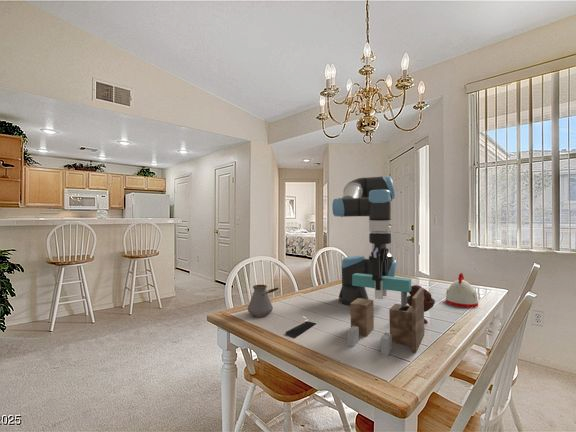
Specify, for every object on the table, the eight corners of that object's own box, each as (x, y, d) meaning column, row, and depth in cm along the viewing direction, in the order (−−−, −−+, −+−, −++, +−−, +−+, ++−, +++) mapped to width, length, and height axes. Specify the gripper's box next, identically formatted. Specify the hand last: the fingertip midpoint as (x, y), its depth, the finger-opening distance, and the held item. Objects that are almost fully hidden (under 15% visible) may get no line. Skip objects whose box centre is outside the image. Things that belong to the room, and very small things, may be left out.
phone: (323, 325, 115) (301, 337, 103) (323, 328, 115) (301, 340, 103) (306, 321, 120) (284, 332, 108) (306, 323, 120) (284, 335, 108)
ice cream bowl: (423, 328, 112) (423, 289, 112) (400, 319, 122) (400, 284, 122) (441, 323, 117) (440, 286, 117) (417, 315, 127) (417, 281, 127)
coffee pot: (243, 313, 132) (242, 280, 133) (264, 308, 139) (264, 277, 139) (266, 327, 115) (266, 290, 115) (290, 321, 121) (289, 285, 122)
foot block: (350, 335, 106) (350, 303, 106) (358, 328, 113) (358, 297, 113) (366, 339, 103) (366, 305, 103) (373, 331, 109) (373, 300, 110)
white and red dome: (442, 304, 144) (442, 273, 144) (449, 298, 154) (449, 269, 154) (475, 309, 134) (474, 277, 134) (480, 302, 145) (479, 273, 145)
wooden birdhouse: (386, 349, 95) (386, 294, 95) (398, 332, 108) (397, 284, 108) (416, 356, 90) (415, 298, 90) (424, 338, 103) (423, 287, 103)
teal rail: (352, 299, 108) (351, 274, 108) (356, 296, 111) (356, 272, 112) (409, 307, 97) (408, 280, 97) (411, 304, 100) (411, 278, 100)
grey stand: (347, 348, 96) (347, 330, 96) (353, 343, 100) (352, 325, 100) (387, 358, 89) (387, 339, 89) (391, 352, 93) (391, 333, 93)
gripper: (383, 233, 95) (384, 304, 95) (396, 231, 109) (397, 293, 109) (361, 233, 99) (362, 301, 99) (376, 231, 113) (377, 290, 113)
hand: (380, 297), depth 104 cm, fingers closed on teal rail, 4 cm apart
